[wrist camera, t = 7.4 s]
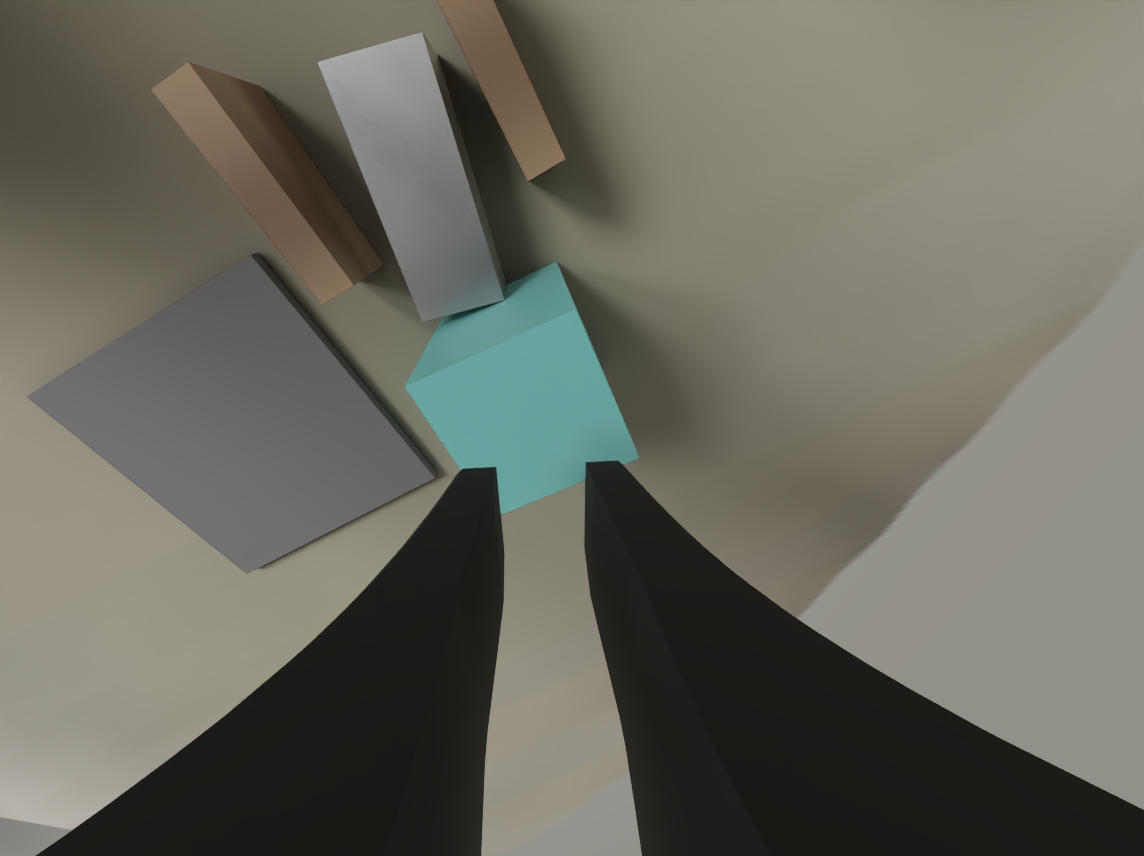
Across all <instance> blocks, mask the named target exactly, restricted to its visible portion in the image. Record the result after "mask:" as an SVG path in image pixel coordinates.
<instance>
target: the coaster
mask: <svg viewBox="0 0 1144 856" xmlns="http://www.w3.org/2000/svg"><path fill="white" fill-rule="evenodd" d="M27 398H29V399H30V400H31V401H32V402H34V403H35V404H36V405H37V406H39V407H40V408H41V409H42V410H44V411H45V412H46V413H47V414H49V415H50V416H51V417H52V418H54V419H55V420H56V421H57V422H59V423H60V424H61V425H62V426H64V427H65V428H66V429H67V430H68V431H70V432H71V433H72V434H73V435H75V436H76V437H77V438H78V439H80V440H81V441H82V442H83V443H85V444H86V445H87V446H88V447H90V448H91V449H92V450H93V451H95V452H96V453H97V454H98V455H100V456H101V457H102V458H103V459H104V460H106V461H107V462H108V463H109V464H111V465H112V466H113V467H114V468H116V469H117V470H118V471H119V472H121V473H122V474H123V475H124V476H126V477H127V478H128V479H129V480H131V481H132V482H133V483H134V484H136V485H137V486H138V487H139V488H141V489H142V490H143V491H144V492H145V493H147V494H148V495H149V496H150V497H152V498H153V499H154V500H155V501H157V502H158V503H159V504H160V505H162V506H163V507H164V508H165V509H167V510H168V511H169V512H170V513H172V514H173V515H174V516H175V517H177V518H178V519H179V520H180V521H182V522H183V523H184V524H185V525H186V526H188V527H189V528H190V529H191V530H193V531H194V532H195V533H196V534H198V535H199V536H200V537H201V538H203V539H204V540H205V541H206V542H208V543H209V544H210V545H211V546H213V547H214V548H215V549H216V550H218V551H219V552H220V553H221V554H222V555H224V556H225V557H226V558H227V559H229V560H230V561H231V562H232V563H234V564H235V565H236V566H237V567H239V568H240V569H241V570H242V571H244V572H245V573H246V574H247V573H249V572H251V571H253V570H255V569H257V568H259V567H261V566H263V565H265V564H267V563H269V562H271V561H273V560H275V559H277V558H279V557H281V556H283V555H285V554H287V553H289V552H291V551H293V550H295V549H297V548H298V547H300V546H302V545H304V544H306V543H308V542H310V541H312V540H314V539H316V538H318V537H320V536H322V535H324V534H326V533H328V532H330V531H332V530H334V529H336V528H338V527H340V526H342V525H344V524H346V523H348V522H350V521H352V520H353V519H355V518H357V517H359V516H361V515H363V514H365V513H367V512H369V511H371V510H373V509H375V508H377V507H379V506H381V505H383V504H385V503H387V502H389V501H391V500H393V499H395V498H397V497H399V496H401V495H403V494H405V493H406V492H408V491H410V490H412V489H414V488H416V487H418V486H420V485H422V484H424V483H426V482H428V481H430V480H432V479H434V478H435V476H436V471H435V470H434V468H433V467H432V466H431V465H430V463H429V462H428V461H427V460H426V459H425V457H424V456H423V455H422V454H421V452H420V451H419V450H418V449H417V448H416V446H415V445H414V444H413V443H412V441H411V440H410V439H409V438H408V437H407V435H406V434H405V433H404V432H403V430H402V429H401V428H400V427H399V426H398V424H397V423H396V422H395V421H394V419H393V418H392V417H391V416H390V415H389V413H388V412H387V411H386V410H385V408H384V407H383V406H382V405H381V404H380V402H379V401H378V400H377V399H376V397H375V396H374V395H373V394H372V393H371V391H370V390H369V389H368V388H367V386H366V385H365V384H364V383H363V382H362V380H361V379H360V378H359V377H358V375H357V374H356V373H355V372H354V371H353V369H352V368H351V367H350V366H349V364H348V363H347V362H346V361H345V360H344V358H343V357H342V356H341V355H340V353H339V352H338V351H337V350H336V349H335V347H334V346H333V345H332V344H331V342H330V341H329V340H328V339H327V338H326V336H325V335H324V334H323V333H322V331H321V330H320V329H319V328H318V327H317V325H316V324H315V323H314V322H313V320H312V319H311V318H310V317H309V316H308V314H307V313H306V312H305V311H304V309H303V308H302V307H301V306H300V305H299V303H298V302H297V301H296V300H295V298H294V297H293V296H292V295H291V294H290V292H289V291H288V290H287V289H286V287H285V286H284V285H283V284H282V283H281V281H280V280H279V279H278V278H277V276H276V275H275V274H274V273H273V272H272V270H271V269H270V268H269V267H268V265H267V264H266V263H265V262H264V261H263V259H262V258H261V257H260V256H259V254H258V253H255V254H252V255H249V256H248V257H246V258H245V259H243V260H242V261H240V262H238V263H237V264H235V265H234V266H232V267H231V268H229V269H227V270H226V271H224V272H223V273H221V274H219V275H218V276H216V277H215V278H213V279H212V280H210V281H208V282H207V283H205V284H204V285H202V286H201V287H199V288H197V289H196V290H194V291H193V292H191V293H189V294H188V295H186V296H185V297H183V298H182V299H180V300H178V301H177V302H175V303H174V304H172V305H171V306H169V307H167V308H166V309H164V310H163V311H161V312H159V313H158V314H156V315H155V316H153V317H152V318H150V319H148V320H147V321H145V322H144V323H142V324H141V325H139V326H137V327H136V328H134V329H133V330H131V331H129V332H128V333H126V334H125V335H123V336H122V337H120V338H118V339H117V340H115V341H114V342H112V343H110V344H109V345H107V346H106V347H104V348H103V349H101V350H99V351H98V352H96V353H95V354H93V355H92V356H90V357H88V358H87V359H85V360H84V361H82V362H80V363H79V364H77V365H76V366H74V367H73V368H71V369H69V370H68V371H66V372H65V373H63V374H62V375H60V376H58V377H57V378H55V379H54V380H52V381H50V382H49V383H47V384H46V385H44V386H43V387H41V388H39V389H38V390H36V391H35V392H33V393H32V394H30V395H28V396H27Z"/></svg>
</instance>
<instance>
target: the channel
mask: <svg viewBox="0 0 1144 856" xmlns="http://www.w3.org/2000/svg"><path fill="white" fill-rule="evenodd" d="M437 1H438V3H439V5H440V7H441V9H442V11H443V13H444V15H445V17H446V19H447V21H448V23H449V25H450V27H451V29H452V31H453V33H454V35H455V37H456V39H457V41H458V43H459V45H460V47H461V49H462V51H463V53H464V55H465V57H466V59H467V61H468V63H469V65H470V67H471V69H472V71H473V73H474V75H475V77H476V79H477V81H478V83H479V85H480V87H481V89H482V91H483V93H484V95H485V97H486V99H487V101H488V103H489V105H490V107H491V109H492V111H493V113H494V115H495V117H496V119H497V121H498V123H499V125H500V127H501V129H502V131H503V133H504V135H505V137H506V139H507V141H508V143H509V145H510V147H511V149H512V151H513V153H514V155H515V157H516V159H517V161H518V163H519V165H520V167H521V169H522V171H523V173H524V175H525V177H526V179H527V181H529V180H531V179H533V178H534V177H536V176H538V175H539V174H541V173H543V172H544V171H546V170H548V169H549V168H551V167H553V166H554V165H556V164H558V163H559V162H561V161H563V160H564V159H565V156H564V154H563V152H562V150H561V148H560V145H559V143H558V141H557V139H556V137H555V134H554V132H553V130H552V128H551V126H550V123H549V121H548V119H547V117H546V115H545V112H544V110H543V108H542V106H541V104H540V101H539V99H538V97H537V95H536V93H535V90H534V88H533V86H532V84H531V82H530V79H529V77H528V75H527V73H526V71H525V68H524V66H523V64H522V62H521V60H520V57H519V55H518V53H517V51H516V49H515V46H514V44H513V42H512V40H511V38H510V35H509V33H508V31H507V29H506V27H505V24H504V22H503V20H502V18H501V16H500V13H499V11H498V9H497V7H496V5H495V2H494V0H437ZM151 90H152V92H153V93H154V94H155V95H156V97H157V98H158V99H159V100H160V102H161V103H162V104H163V105H164V107H165V108H166V109H167V110H168V112H169V113H170V114H171V115H172V117H173V118H174V119H175V121H176V122H177V123H178V124H179V126H180V127H181V128H182V129H183V131H184V132H185V133H186V134H187V136H188V137H189V138H190V139H191V141H192V142H193V143H194V144H195V146H196V147H197V148H198V150H199V151H200V152H201V153H202V155H203V156H204V157H205V158H206V160H207V161H208V162H209V163H210V165H211V166H212V167H213V168H214V170H215V171H216V172H217V173H218V175H219V176H220V177H221V178H222V180H223V181H224V182H225V184H226V185H227V186H228V187H229V189H230V190H231V191H232V192H233V194H234V195H235V196H236V197H237V199H238V200H239V201H240V202H241V204H242V205H243V206H244V207H245V209H246V210H247V211H248V212H249V214H250V215H251V216H252V218H253V219H254V220H255V221H256V223H257V224H258V225H259V226H260V228H261V229H262V230H263V231H264V233H265V234H266V235H267V236H268V238H269V239H270V240H271V241H272V243H273V244H274V245H275V246H276V248H277V249H278V250H279V252H280V253H281V254H282V255H283V257H284V258H285V259H286V260H287V262H288V263H289V264H290V265H291V267H292V268H293V269H294V270H295V272H296V273H297V274H298V275H299V277H300V278H301V279H302V281H303V282H304V283H305V284H306V286H307V287H308V288H309V289H310V291H311V292H312V293H313V294H314V296H315V297H316V298H317V299H318V301H319V302H320V303H321V304H323V303H325V302H327V301H328V300H330V299H332V298H333V297H335V296H337V295H338V294H340V293H342V292H343V291H345V290H347V289H348V288H350V287H352V286H353V285H355V284H356V283H358V282H359V281H361V280H362V279H364V278H365V277H367V276H369V275H370V274H372V273H373V272H375V271H376V270H378V269H379V268H381V267H382V266H384V264H383V262H382V261H381V259H380V258H379V256H378V255H377V254H376V252H375V251H374V249H373V248H372V246H371V245H370V243H369V242H368V241H367V239H366V238H365V236H364V235H363V233H362V232H361V230H360V229H359V228H358V226H357V225H356V223H355V222H354V220H353V219H352V218H351V216H350V215H349V213H348V212H347V210H346V209H345V207H344V206H343V205H342V203H341V202H340V200H339V199H338V197H337V196H336V195H335V193H334V192H333V190H332V189H331V187H330V186H329V184H328V183H327V182H326V180H325V179H324V177H323V176H322V174H321V173H320V171H319V170H318V169H317V167H316V166H315V164H314V163H313V161H312V160H311V159H310V157H309V156H308V154H307V153H306V151H305V150H304V148H303V147H302V146H301V144H300V143H299V141H298V140H297V138H296V137H295V136H294V134H293V133H292V131H291V130H290V128H289V127H288V125H287V124H286V123H285V121H284V120H283V118H282V117H281V115H280V114H279V113H278V111H277V110H276V108H275V107H274V105H273V104H272V102H271V101H270V100H269V98H268V97H267V95H266V94H265V92H264V91H263V89H262V88H261V87H260V86H258V85H255V84H252V83H249V82H246V81H243V80H240V79H237V78H234V77H231V76H228V75H225V74H222V73H219V72H216V71H213V70H210V69H207V68H204V67H201V66H198V65H195V64H192V63H189V62H188V63H186V64H185V65H184V66H182V67H181V68H179V69H178V70H177V71H175V72H174V73H173V74H171V75H170V76H168V77H167V78H166V79H164V80H163V81H162V82H160V83H159V84H157V85H156V86H155V87H153V88H152V89H151Z"/></svg>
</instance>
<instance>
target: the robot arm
mask: <svg viewBox="0 0 1144 856" xmlns="http://www.w3.org/2000/svg"><path fill="white" fill-rule="evenodd" d="M585 555H586V563H587V571H588V579H589V587H590V595H591V599H592V604H593V608H594V612H595V616H596V621H597V625H598V629H599V633H600V637H601V642H602V646H603V650H604V654H605V658H606V662H607V666H608V670H609V675H610V679H611V683H612V687H613V691H614V695H615V699H616V703H617V708H618V712H619V716H620V721H621V726H622V731H623V736H624V741H625V745H626V752H627V758H628V765H629V771H630V778H631V784H632V790H633V797H634V804H635V810H636V817H637V823H638V831H639V837H640V844H641V851H642V856H1144V810H1143V809H1141V808H1138V807H1137V806H1135V805H1133V804H1130V803H1129V802H1126V801H1125V800H1123V799H1121V798H1119V797H1117V796H1115V795H1113V794H1111V793H1109V792H1107V791H1105V790H1102V789H1100V788H1098V787H1097V786H1094V785H1093V784H1090V783H1088V782H1087V781H1085V780H1083V779H1081V778H1078V777H1076V776H1074V775H1072V774H1070V773H1068V772H1066V771H1064V770H1062V769H1060V768H1058V767H1056V766H1054V765H1052V764H1050V763H1048V762H1046V761H1044V760H1042V759H1040V758H1038V757H1036V756H1034V755H1032V754H1030V753H1028V752H1026V751H1024V750H1022V749H1020V748H1018V747H1016V746H1014V745H1012V744H1010V743H1008V742H1006V741H1004V740H1002V739H1000V738H998V737H996V736H994V735H993V734H991V733H989V732H987V731H985V730H983V729H981V728H979V727H977V726H976V725H974V724H972V723H970V722H969V721H967V720H965V719H963V718H961V717H959V716H958V715H956V714H954V713H952V712H950V711H949V710H947V709H945V708H943V707H941V706H940V705H938V704H936V703H934V702H932V701H930V700H929V699H927V698H925V697H923V696H922V695H919V694H918V693H916V692H914V691H912V690H911V689H909V688H907V687H906V686H904V685H902V684H900V683H899V682H897V681H895V680H894V679H892V678H890V677H889V676H887V675H885V674H883V673H882V672H880V671H878V670H877V669H875V668H873V667H872V666H870V665H868V664H867V663H865V662H863V661H862V660H860V659H859V658H857V657H855V656H854V655H852V654H851V653H849V652H847V651H846V650H844V649H843V648H841V647H840V646H838V645H836V644H835V643H833V642H832V641H830V640H829V639H827V638H826V637H824V636H822V635H821V634H819V633H817V632H816V631H815V630H813V629H811V628H810V627H808V626H807V625H806V624H804V623H803V622H801V621H800V620H798V619H797V618H795V617H794V616H792V615H791V614H789V613H788V612H787V611H785V610H784V609H782V608H781V607H780V606H778V605H777V604H776V603H774V602H773V601H771V600H770V599H769V598H767V597H766V596H765V595H763V594H762V593H761V592H759V591H758V590H757V589H755V588H754V587H752V586H751V585H750V584H748V583H747V582H746V581H744V580H743V579H742V578H741V577H739V576H738V575H737V574H736V573H734V572H733V571H732V570H730V569H729V568H728V567H727V566H726V565H724V564H723V563H722V562H721V561H720V560H719V559H717V558H716V557H715V556H714V555H713V554H712V553H710V552H709V551H708V550H707V549H706V548H705V547H703V546H702V545H701V544H700V543H699V542H698V541H697V540H696V539H695V538H694V537H693V536H691V535H690V534H689V533H688V532H687V531H686V530H685V529H684V528H683V527H682V526H681V525H680V524H679V523H678V522H677V521H676V520H675V519H674V518H673V517H672V516H671V515H670V514H669V513H668V512H667V511H666V510H665V509H664V508H663V507H662V506H661V505H660V504H659V503H658V502H657V501H656V500H655V499H654V498H653V497H652V496H651V495H650V494H649V493H648V492H647V491H646V490H645V488H644V487H643V486H642V485H641V484H640V483H639V482H638V481H637V480H636V479H635V478H634V476H633V475H632V474H631V473H630V472H629V471H628V470H627V469H626V468H625V467H624V465H622V464H621V463H620V462H619V461H618V460H617V461H598V462H586V470H585ZM503 602H504V544H503V533H502V523H501V512H500V501H499V491H498V480H497V469H496V467H483V468H464V469H462V470H461V471H460V472H459V473H458V474H457V475H456V476H455V478H454V479H453V481H452V482H451V484H450V485H449V486H448V488H447V489H446V491H445V492H444V494H443V495H442V496H441V498H440V499H439V500H438V502H437V503H436V505H435V506H434V507H433V509H432V510H431V511H430V513H429V514H428V515H427V517H426V518H425V519H424V520H423V522H422V523H421V524H420V525H419V527H418V528H417V529H416V530H415V532H414V533H413V534H412V535H411V537H410V538H409V539H408V540H407V542H406V543H405V544H404V545H403V547H402V548H401V549H400V550H399V551H398V552H397V554H396V555H395V556H394V557H393V558H392V559H391V560H390V561H389V563H388V564H387V565H386V566H385V567H384V568H383V569H382V570H381V571H380V573H379V574H378V575H377V576H376V577H375V578H374V579H373V580H372V582H371V583H370V584H369V585H368V586H367V587H366V588H365V589H364V590H363V591H362V592H361V593H360V594H359V596H358V597H357V598H356V599H355V600H354V601H353V602H352V603H351V604H350V605H349V606H348V607H347V608H346V609H345V610H344V611H343V612H342V613H341V614H340V615H339V616H338V617H337V618H336V619H335V620H334V621H333V622H332V623H331V624H330V625H328V626H327V627H326V628H325V629H324V630H323V631H322V632H321V633H320V634H319V635H318V636H317V637H316V638H315V639H314V640H313V641H312V642H311V643H310V644H308V645H307V646H306V647H305V648H304V649H303V650H302V651H301V652H300V653H298V654H297V655H296V656H295V657H294V658H293V659H292V660H290V661H289V662H288V663H287V664H286V665H285V666H284V667H282V668H281V669H280V670H279V671H278V672H276V673H275V674H274V675H273V676H272V677H270V678H269V679H268V680H267V681H266V682H265V683H263V684H262V685H261V686H260V687H259V688H257V689H256V690H255V691H254V692H253V693H252V694H250V695H249V696H248V697H247V698H246V699H244V700H243V701H242V702H241V703H240V704H238V705H237V706H236V707H235V708H234V709H233V710H231V711H230V712H229V713H228V714H227V715H225V716H224V717H223V718H222V719H220V720H219V721H218V722H217V723H215V724H214V725H213V726H211V727H210V728H209V729H208V730H206V731H205V732H204V733H202V734H201V735H200V736H199V737H197V738H196V739H195V740H193V741H192V742H191V743H190V744H188V745H187V746H186V747H184V748H183V749H182V750H180V751H179V752H178V753H177V754H175V755H174V756H173V757H171V758H170V759H169V760H168V761H166V762H165V763H164V764H162V765H161V766H159V767H158V768H157V769H155V770H154V771H153V772H151V773H150V774H149V775H147V776H146V777H145V778H143V779H142V780H141V781H139V782H138V783H137V784H135V785H134V786H133V787H131V788H130V789H128V790H127V791H126V792H124V793H123V794H122V795H120V796H119V797H118V798H116V799H115V800H114V801H112V802H111V803H110V804H108V805H107V806H105V807H104V808H103V809H101V810H100V811H99V812H97V813H96V814H94V815H93V816H92V817H90V818H89V819H87V820H86V821H85V822H83V823H82V824H80V825H79V826H78V827H76V828H75V829H73V830H72V831H71V832H69V833H68V834H67V835H65V836H64V837H62V838H61V839H59V840H58V841H56V842H55V843H54V844H52V845H51V846H49V847H48V848H46V849H45V850H43V851H42V852H40V853H39V854H38V855H36V856H481V846H482V820H483V796H484V771H485V754H486V743H487V732H488V723H489V715H490V707H491V699H492V691H493V683H494V675H495V667H496V659H497V652H498V644H499V635H500V627H501V619H502V611H503Z"/></svg>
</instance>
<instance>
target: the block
mask: <svg viewBox="0 0 1144 856" xmlns="http://www.w3.org/2000/svg"><path fill="white" fill-rule="evenodd" d="M405 388H406V390H407V391H408V393H409V394H410V396H411V397H412V399H413V400H414V402H415V403H416V405H417V406H418V408H419V409H420V411H421V412H422V413H423V415H424V416H425V418H426V419H427V421H428V422H429V424H430V425H431V427H432V428H433V430H434V431H435V433H436V434H437V436H438V437H439V439H440V440H441V442H442V443H443V445H444V446H445V448H446V449H447V451H448V452H449V454H450V455H451V457H452V458H453V460H454V461H455V463H456V464H457V466H458V467H459V469H460V470H462V469H464V468H483V467H496V469H497V480H498V491H499V501H500V512H501V515H502V514H504V513H507V512H509V511H512V510H514V509H517V508H519V507H521V506H524V505H526V504H529V503H531V502H534V501H536V500H538V499H541V498H543V497H546V496H548V495H551V494H553V493H555V492H558V491H560V490H563V489H565V488H568V487H570V486H572V485H575V484H577V483H580V482H582V481H585V470H586V462H598V461H617V460H618V461H619V462H620V463H621V464H622V465H624V464H626V463H628V462H631V461H633V460H636V459H638V458H640V457H639V455H638V453H637V450H636V448H635V445H634V443H633V441H632V438H631V436H630V433H629V431H628V429H627V426H626V424H625V421H624V419H623V417H622V414H621V412H620V409H619V407H618V405H617V402H616V400H615V397H614V395H613V393H612V390H611V388H610V385H609V383H608V381H607V378H606V376H605V373H604V371H603V369H602V366H601V364H600V362H599V359H598V357H597V355H596V352H595V350H594V348H593V345H592V343H591V341H590V338H589V336H588V334H587V331H586V329H585V327H584V324H583V322H582V320H581V317H580V315H579V313H578V310H577V308H576V305H575V303H574V301H573V298H572V296H571V294H570V291H569V289H568V287H567V284H566V282H565V280H564V277H563V275H562V273H561V270H560V268H559V266H558V263H557V261H556V262H554V263H552V264H550V265H548V266H545V267H543V268H541V269H539V270H537V271H535V272H533V273H531V274H528V275H526V276H524V277H522V278H520V279H518V280H516V281H514V282H511V283H509V284H507V286H506V292H505V299H504V300H503V301H500V302H496V303H492V304H488V305H485V306H481V307H477V308H473V309H469V310H466V311H462V312H458V313H454V314H451V315H447V316H443V318H442V319H441V321H440V323H439V325H438V327H437V329H436V330H435V332H434V334H433V336H432V338H431V340H430V341H429V343H428V345H427V347H426V349H425V351H424V352H423V354H422V356H421V358H420V360H419V362H418V363H417V365H416V367H415V369H414V371H413V373H412V374H411V376H410V378H409V380H408V382H407V384H406V385H405Z"/></svg>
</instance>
